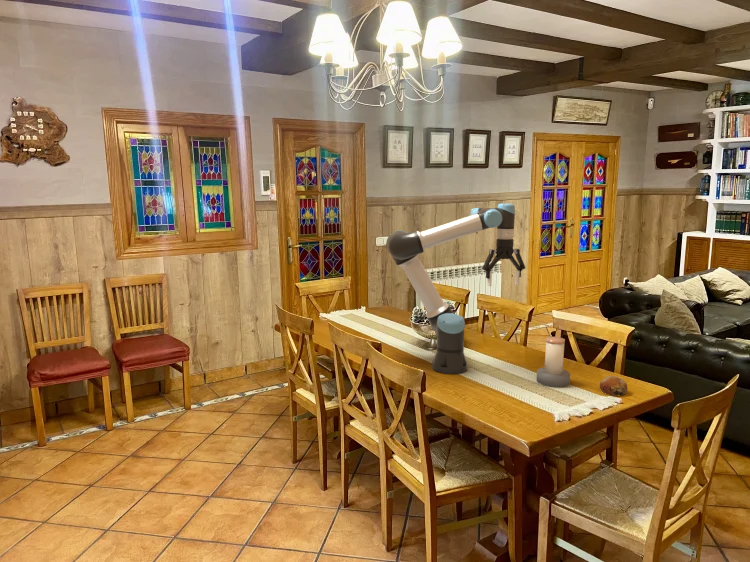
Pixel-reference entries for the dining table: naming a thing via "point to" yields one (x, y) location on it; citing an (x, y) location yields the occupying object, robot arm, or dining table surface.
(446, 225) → the robot arm
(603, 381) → the bread roll
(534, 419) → the dining table surface
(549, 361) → the canister
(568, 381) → the plinth
